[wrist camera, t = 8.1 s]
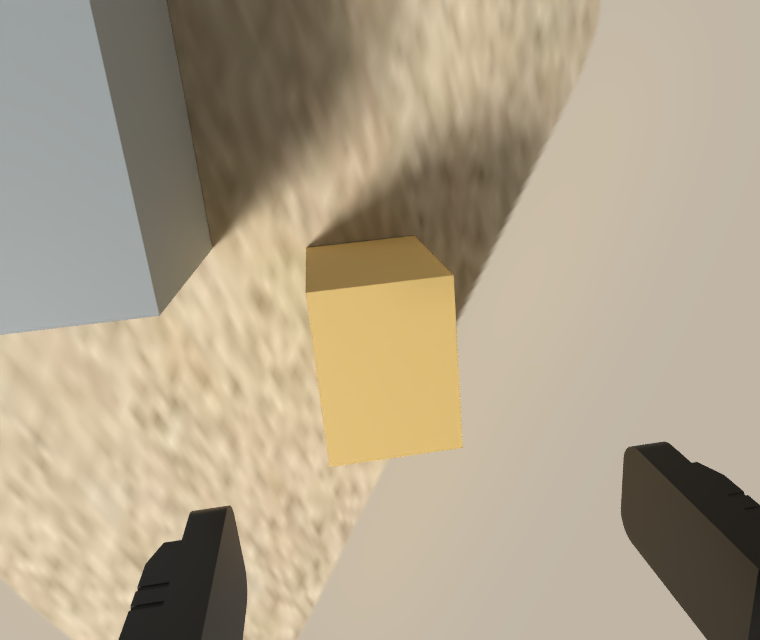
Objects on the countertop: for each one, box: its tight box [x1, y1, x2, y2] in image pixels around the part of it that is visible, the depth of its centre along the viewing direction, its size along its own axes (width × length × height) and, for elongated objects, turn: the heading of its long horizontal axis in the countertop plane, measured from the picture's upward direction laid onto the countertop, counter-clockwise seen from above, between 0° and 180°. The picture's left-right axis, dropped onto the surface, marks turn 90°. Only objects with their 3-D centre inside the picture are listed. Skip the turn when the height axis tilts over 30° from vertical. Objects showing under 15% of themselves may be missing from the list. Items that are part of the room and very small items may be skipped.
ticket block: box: [0, 0, 212, 335], centre depth 17 cm, size 12×8×9 cm, turn 5°
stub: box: [306, 236, 463, 467], centre depth 22 cm, size 6×4×7 cm
